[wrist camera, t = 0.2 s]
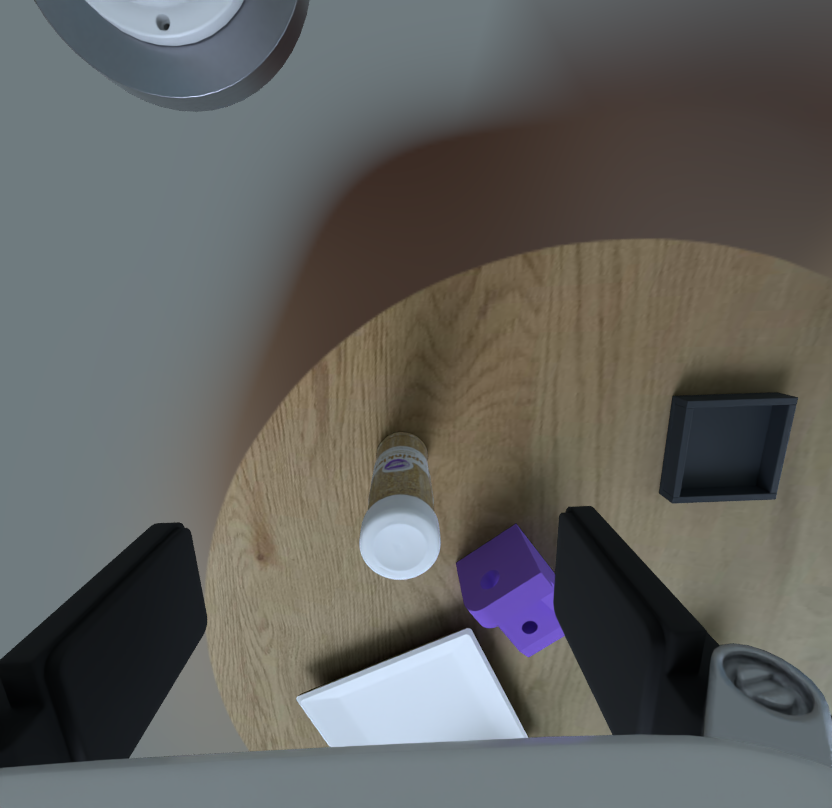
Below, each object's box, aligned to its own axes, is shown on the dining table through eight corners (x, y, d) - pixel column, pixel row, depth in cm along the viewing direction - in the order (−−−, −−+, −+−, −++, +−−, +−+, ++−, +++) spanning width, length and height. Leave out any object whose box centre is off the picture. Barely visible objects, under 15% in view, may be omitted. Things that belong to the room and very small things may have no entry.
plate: (467, 612, 39) (470, 629, 37) (533, 739, 44) (540, 761, 42) (299, 680, 41) (294, 700, 39) (380, 796, 45) (379, 820, 43)
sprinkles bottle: (415, 422, 34) (422, 497, 21) (435, 467, 35) (454, 565, 22) (366, 442, 34) (343, 529, 21) (388, 487, 35) (379, 594, 22)
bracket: (455, 562, 38) (466, 619, 31) (516, 523, 37) (540, 572, 30) (523, 644, 40) (547, 711, 34) (581, 608, 39) (617, 671, 33)
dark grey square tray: (672, 395, 34) (687, 401, 32) (777, 392, 34) (798, 397, 32) (658, 493, 36) (672, 503, 35) (757, 489, 37) (775, 499, 35)
